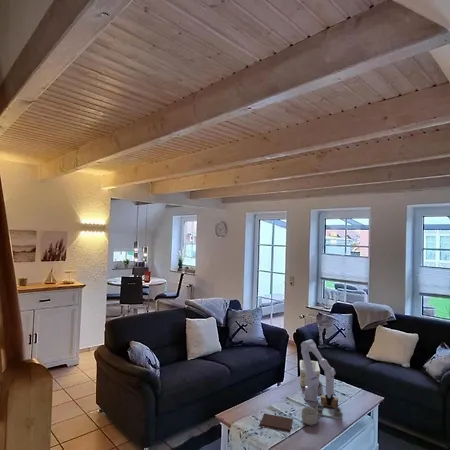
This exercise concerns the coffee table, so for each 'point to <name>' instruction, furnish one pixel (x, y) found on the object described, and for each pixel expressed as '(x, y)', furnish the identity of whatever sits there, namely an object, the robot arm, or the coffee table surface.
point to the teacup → (309, 416)
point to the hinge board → (329, 412)
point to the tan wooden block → (333, 403)
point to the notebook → (276, 422)
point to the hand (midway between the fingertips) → (329, 403)
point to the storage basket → (304, 374)
